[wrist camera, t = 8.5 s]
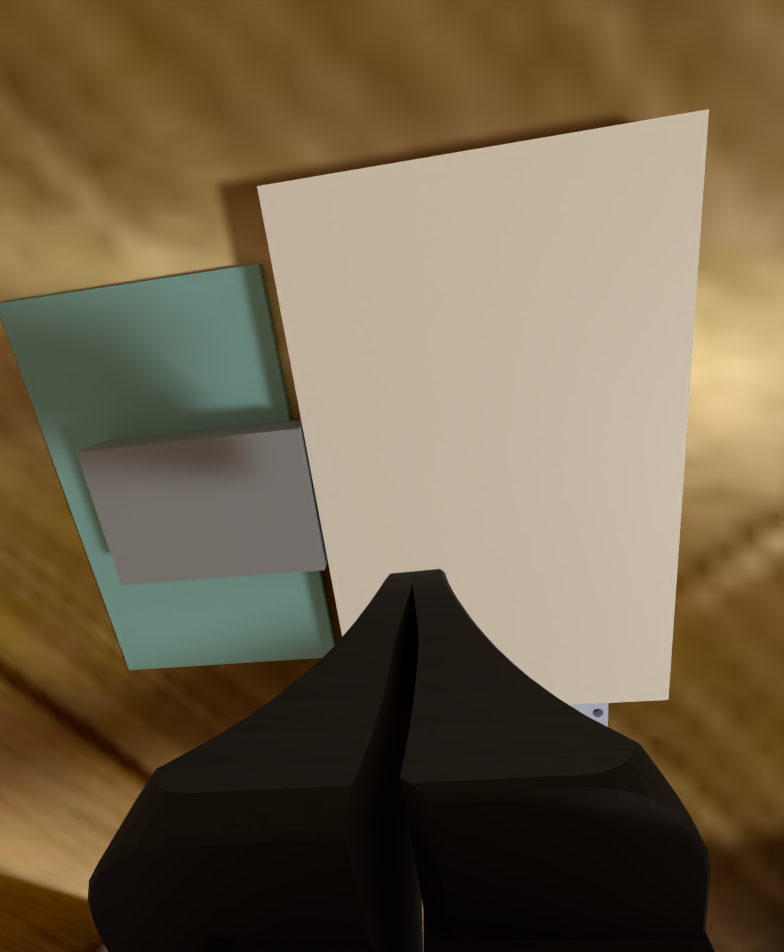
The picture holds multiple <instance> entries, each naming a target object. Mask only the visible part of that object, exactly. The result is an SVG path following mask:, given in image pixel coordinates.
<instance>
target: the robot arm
mask: <svg viewBox="0 0 784 952" xmlns="http://www.w3.org/2000/svg"><path fill="white" fill-rule="evenodd" d="M595 709H599V710H596V711H594V710H595ZM709 881H710V865H709V856H708V850H707V848H706V846H705V844H704V842H703V841H702V839H701V836H700V834H699V832H698V830H697V828H696V826H695V824H694V822H693V820H692V818H691V817H690V815H689V813H688V812H687V810H686V808H685V807H684V805H683V804H682V802H681V800H680V799H679V797H678V796H677V794H676V793H675V792H674V790H673V789H672V787H671V786H670V784H669V783H668V782H667V780H666V779H665V777H664V776H663V774H662V773H661V772H660V770H659V769H658V768H657V766H656V765H655V764H654V762H653V761H652V759H651V758H650V757H649V755H648V754H647V753H646V751H645V750H644V749H643V748H642V746H641V745H640V744H639V743H637V742H635V741H633V740H631V739H630V738H628V737H626V736H624V735H622V734H620V733H618V732H616V731H614V730H612V729H611V728H609V727H608V703H595V704H575V705H568V704H567V703H565V702H564V701H562V700H560V699H559V698H557V697H556V696H554V695H553V694H552V693H550V692H549V691H548V690H546V689H545V688H543V687H542V686H541V685H539V684H538V683H537V682H535V681H534V680H533V679H531V678H530V677H529V676H527V675H526V674H525V673H524V672H523V671H522V670H521V669H519V668H518V667H517V666H516V665H515V664H514V663H512V662H511V661H510V660H509V659H508V658H507V657H506V656H505V655H504V654H503V653H502V652H501V651H500V650H499V649H498V648H497V647H496V646H495V645H494V644H493V643H492V642H491V641H490V640H489V639H488V638H487V636H486V635H485V634H484V633H483V632H482V631H481V629H480V628H479V627H478V626H477V625H476V623H475V622H474V621H473V620H472V618H471V617H470V616H469V614H468V613H467V612H466V610H465V609H464V607H463V606H462V604H461V603H460V602H459V600H458V599H457V597H456V595H455V594H454V592H453V590H452V588H451V586H450V584H449V582H448V580H447V577H446V574H445V572H444V571H442V570H441V569H433V570H422V571H412V572H401V573H391V574H389V576H388V577H387V578H386V579H385V581H384V582H383V584H382V585H381V587H380V588H379V590H378V591H377V593H376V594H375V596H374V597H373V598H372V600H371V601H370V603H369V604H368V605H367V607H366V608H365V609H364V611H363V612H362V613H361V615H360V616H359V617H358V619H357V620H356V621H355V622H354V624H353V625H352V626H351V627H350V628H349V630H348V631H347V632H346V633H345V634H344V635H343V636H342V638H341V639H340V640H339V641H338V642H337V643H336V645H335V646H334V647H333V648H332V649H331V650H330V651H329V652H328V653H327V654H326V655H325V656H324V657H323V658H322V659H321V660H320V661H318V662H317V663H316V664H315V665H314V666H313V667H312V668H311V669H310V670H309V671H308V672H306V673H305V674H304V675H303V676H302V677H300V678H299V679H298V680H297V681H295V682H294V683H293V684H292V685H290V686H289V687H288V688H287V689H285V690H284V691H283V692H281V693H280V694H279V695H278V696H276V697H275V698H274V699H273V700H271V701H270V702H268V703H267V704H266V705H264V706H263V707H261V708H260V709H258V710H257V711H255V712H254V713H253V714H251V715H250V716H248V717H247V718H245V719H244V720H242V721H240V722H239V723H237V724H236V725H234V726H233V727H231V728H229V729H228V730H226V731H224V732H223V733H221V734H219V735H218V736H216V737H214V738H213V739H211V740H209V741H207V742H205V743H204V744H202V745H200V746H198V747H196V748H194V749H193V750H191V751H189V752H187V753H185V754H183V755H182V756H180V757H178V758H176V759H174V760H173V761H171V762H169V763H167V764H165V765H163V766H161V767H159V768H157V769H156V770H155V772H154V773H153V775H152V776H151V778H150V779H149V781H148V782H147V784H146V785H145V787H144V789H143V790H142V792H141V793H140V795H139V796H138V798H137V799H136V801H135V803H134V804H133V806H132V808H131V809H130V811H129V813H128V814H127V816H126V818H125V819H124V821H123V823H122V824H121V826H120V828H119V829H118V831H117V833H116V834H115V836H114V838H113V839H112V841H111V843H110V844H109V846H108V848H107V849H106V851H105V853H104V854H103V856H102V858H101V859H100V861H99V863H98V865H97V866H96V868H95V870H94V872H93V874H92V876H91V878H90V880H89V890H88V903H89V908H90V911H91V914H92V917H93V920H94V923H95V926H96V928H97V930H98V932H99V934H100V936H101V938H102V940H103V942H104V944H105V946H106V948H107V950H108V952H423V932H422V902H423V908H424V952H715V951H714V949H713V947H712V945H711V943H710V941H709V939H708V936H707V934H706V932H705V925H706V914H707V903H708V892H709Z"/></svg>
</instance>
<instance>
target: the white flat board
mask: <svg viewBox="0 0 784 952" xmlns="http://www.w3.org/2000/svg"><path fill="white" fill-rule="evenodd" d="M708 115H709V109H708V110H702V111H697V112H691V113H685V114H679V115H673V116H667V117H661V118H655V119H650V120H644V121H638V122H632V123H626V124H620V125H614V126H608V127H602V128H597V129H591V130H585V131H579V132H573V133H567V134H561V135H555V136H550V137H544V138H538V139H532V140H526V141H520V142H514V143H508V144H503V145H497V146H491V147H485V148H479V149H473V150H467V151H461V152H456V153H450V154H444V155H438V156H432V157H426V158H420V159H414V160H408V161H403V162H397V163H391V164H385V165H379V166H373V167H367V168H361V169H356V170H350V171H344V172H338V173H332V174H326V175H320V176H314V177H309V178H303V179H297V180H291V181H285V182H279V183H273V184H267V185H262V186H257V189H258V194H259V200H260V205H261V210H262V215H263V221H264V226H265V231H266V237H267V242H268V247H269V252H270V258H271V263H272V268H273V274H274V279H275V284H276V289H277V295H278V300H279V305H280V311H281V316H282V321H283V326H284V332H285V337H286V342H287V348H288V353H289V358H290V363H291V369H292V374H293V379H294V385H295V390H296V395H297V400H298V406H299V411H300V416H301V422H302V427H303V432H304V437H305V443H306V448H307V453H308V459H309V464H310V469H311V474H312V480H313V485H314V490H315V496H316V501H317V506H318V511H319V517H320V522H321V527H322V533H323V538H324V543H325V548H326V554H327V559H328V564H329V570H330V575H331V580H332V585H333V591H334V596H335V601H336V607H337V612H338V617H339V622H340V628H341V633H342V636H343V635H344V634H345V633H346V632H347V631H348V630H349V628H350V627H351V626H352V625H353V624H354V622H355V621H356V620H357V619H358V617H359V616H360V615H361V613H362V612H363V611H364V609H365V608H366V607H367V605H368V604H369V603H370V601H371V600H372V598H373V597H374V596H375V594H376V593H377V591H378V590H379V588H380V587H381V585H382V584H383V582H384V581H385V579H386V578H387V577H388V576H389V574H391V573H401V572H412V571H422V570H433V569H441V570H442V571H444V572H445V574H446V577H447V580H448V582H449V584H450V586H451V588H452V590H453V592H454V594H455V595H456V597H457V599H458V600H459V602H460V603H461V604H462V606H463V607H464V609H465V610H466V612H467V613H468V614H469V616H470V617H471V618H472V620H473V621H474V622H475V623H476V625H477V626H478V627H479V628H480V629H481V631H482V632H483V633H484V634H485V635H486V636H487V638H488V639H489V640H490V641H491V642H492V643H493V644H494V645H495V646H496V647H497V648H498V649H499V650H500V651H501V652H502V653H503V654H504V655H505V656H506V657H507V658H508V659H509V660H510V661H511V662H512V663H514V664H515V665H516V666H517V667H518V668H519V669H521V670H522V671H523V672H524V673H525V674H526V675H527V676H529V677H530V678H531V679H533V680H534V681H535V682H537V683H538V684H539V685H541V686H542V687H543V688H545V689H546V690H548V691H549V692H550V693H552V694H553V695H554V696H556V697H557V698H559V699H560V700H562V701H564V702H565V703H567V704H568V705H575V704H595V703H615V702H634V701H654V700H668V697H669V683H670V668H671V654H672V639H673V625H674V610H675V595H676V581H677V566H678V552H679V537H680V523H681V508H682V493H683V479H684V464H685V450H686V435H687V421H688V406H689V392H690V377H691V362H692V348H693V333H694V319H695V304H696V290H697V275H698V261H699V246H700V231H701V217H702V202H703V188H704V173H705V159H706V144H707V130H708Z"/></svg>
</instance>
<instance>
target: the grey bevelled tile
mask: <svg viewBox="0 0 784 952" xmlns="http://www.w3.org/2000/svg"><path fill="white" fill-rule="evenodd" d="M76 453H77V456H78V459H79V462H80V465H81V468H82V471H83V474H84V477H85V479H86V482H87V485H88V488H89V491H90V494H91V497H92V500H93V503H94V506H95V509H96V512H97V515H98V518H99V521H100V524H101V527H102V530H103V533H104V536H105V539H106V542H107V545H108V548H109V550H110V553H111V556H112V559H113V562H114V565H115V568H116V571H117V574H118V577H119V580H120V583H121V585H134V584H147V583H160V582H174V581H187V580H201V579H214V578H227V577H241V576H254V575H268V574H281V573H294V572H308V571H321V570H325V567H326V565H327V562H328V559H327V554H326V548H325V543H324V538H323V533H322V527H321V522H320V517H319V511H318V506H317V501H316V496H315V490H314V485H313V480H312V474H311V469H310V464H309V459H308V453H307V448H306V443H305V437H304V432H303V427H302V422H301V420H292V421H283V422H273V423H264V424H255V425H245V426H236V427H227V428H218V429H208V430H199V431H190V432H180V433H171V434H162V435H153V436H143V437H134V438H125V439H115V440H108V441H106V442H103V443H100V444H97V445H94V446H92V447H89V448H86V449H83V450H81V451H78V452H76Z"/></svg>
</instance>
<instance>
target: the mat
mask: <svg viewBox="0 0 784 952" xmlns="http://www.w3.org/2000/svg"><path fill="white" fill-rule="evenodd" d="M0 318H1V321H2V323H3V326H4V329H5V332H6V334H7V337H8V340H9V342H10V345H11V348H12V351H13V353H14V356H15V359H16V362H17V364H18V367H19V370H20V373H21V375H22V378H23V381H24V384H25V386H26V389H27V392H28V395H29V397H30V400H31V403H32V405H33V408H34V411H35V414H36V416H37V419H38V422H39V425H40V427H41V430H42V433H43V436H44V438H45V441H46V444H47V447H48V449H49V452H50V455H51V458H52V460H53V463H54V466H55V468H56V471H57V474H58V477H59V479H60V482H61V485H62V488H63V490H64V493H65V496H66V499H67V501H68V504H69V507H70V510H71V512H72V515H73V518H74V521H75V523H76V526H77V529H78V532H79V534H80V537H81V540H82V542H83V545H84V548H85V551H86V553H87V556H88V559H89V562H90V564H91V567H92V570H93V573H94V575H95V578H96V581H97V584H98V586H99V589H100V592H101V595H102V597H103V600H104V603H105V605H106V608H107V611H108V614H109V616H110V619H111V622H112V625H113V627H114V630H115V633H116V636H117V638H118V641H119V644H120V647H121V649H122V652H123V655H124V658H125V660H126V663H127V666H128V668H129V670H140V669H156V668H172V667H188V666H203V665H219V664H235V663H251V662H266V661H282V660H298V659H314V658H323V657H324V656H325V655H326V654H327V653H328V652H329V651H330V650H331V649H332V648H333V647H334V646H335V640H334V635H333V630H332V625H331V620H330V615H329V610H328V604H327V599H326V594H325V589H324V584H323V579H322V574H321V571H308V572H294V573H281V574H268V575H254V576H241V577H227V578H214V579H201V580H187V581H174V582H160V583H147V584H134V585H121V583H120V580H119V577H118V574H117V571H116V568H115V565H114V562H113V559H112V556H111V553H110V550H109V548H108V545H107V542H106V539H105V536H104V533H103V530H102V527H101V524H100V521H99V518H98V515H97V512H96V509H95V506H94V503H93V500H92V497H91V494H90V491H89V488H88V485H87V482H86V479H85V477H84V474H83V471H82V468H81V465H80V462H79V459H78V456H77V453H76V452H78V451H81V450H83V449H86V448H89V447H92V446H94V445H97V444H100V443H103V442H106V441H108V440H115V439H125V438H134V437H143V436H153V435H162V434H171V433H180V432H190V431H199V430H208V429H218V428H227V427H236V426H245V425H255V424H264V423H273V422H283V421H292V420H291V415H290V410H289V405H288V400H287V395H286V390H285V385H284V380H283V375H282V369H281V364H280V359H279V354H278V349H277V344H276V339H275V334H274V329H273V323H272V318H271V313H270V308H269V303H268V298H267V293H266V288H265V283H264V277H263V272H262V267H261V265H260V264H254V265H247V266H240V267H234V268H227V269H221V270H214V271H208V272H201V273H195V274H188V275H182V276H175V277H168V278H162V279H155V280H149V281H142V282H136V283H129V284H123V285H116V286H109V287H103V288H96V289H90V290H83V291H77V292H70V293H64V294H57V295H51V296H44V297H37V298H31V299H24V300H18V301H11V302H5V303H0Z"/></svg>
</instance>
